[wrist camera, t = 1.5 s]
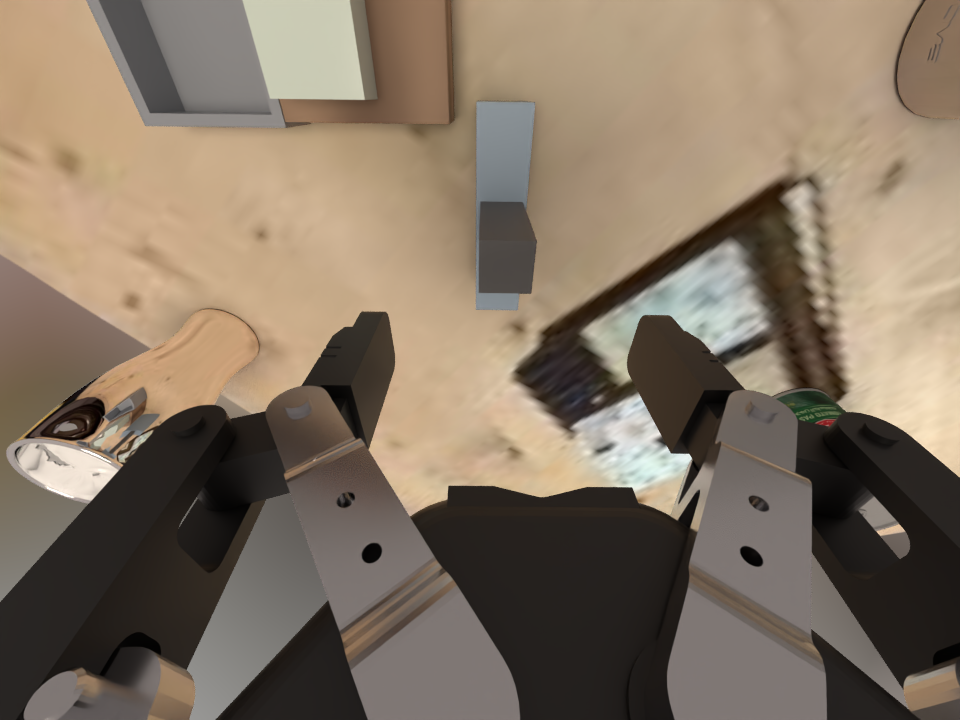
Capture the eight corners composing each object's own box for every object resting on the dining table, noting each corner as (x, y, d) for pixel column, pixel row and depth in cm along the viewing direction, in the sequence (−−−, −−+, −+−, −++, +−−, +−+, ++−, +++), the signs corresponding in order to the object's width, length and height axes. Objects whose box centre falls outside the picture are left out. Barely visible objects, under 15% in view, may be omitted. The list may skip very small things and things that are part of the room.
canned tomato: (813, 374, 35) (925, 470, 26) (840, 413, 38) (947, 510, 29) (733, 416, 38) (807, 511, 29) (763, 448, 41) (838, 543, 33)
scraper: (525, 101, 22) (558, 106, 12) (513, 280, 29) (527, 371, 20) (477, 100, 22) (473, 104, 12) (477, 280, 29) (473, 370, 20)
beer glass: (261, 314, 31) (121, 451, 19) (267, 373, 35) (155, 515, 23) (175, 295, 30) (-28, 426, 18) (192, 357, 34) (35, 498, 22)
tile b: (361, -25, 16) (343, -42, 14) (377, 99, 19) (364, 99, 17) (262, -25, 16) (230, -43, 14) (293, 98, 19) (270, 98, 17)
